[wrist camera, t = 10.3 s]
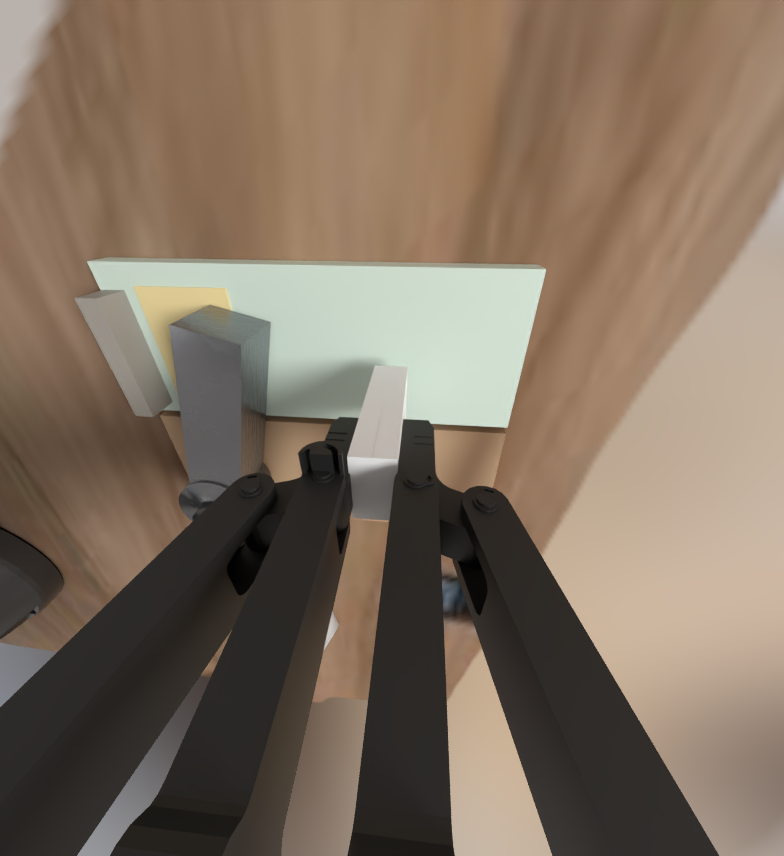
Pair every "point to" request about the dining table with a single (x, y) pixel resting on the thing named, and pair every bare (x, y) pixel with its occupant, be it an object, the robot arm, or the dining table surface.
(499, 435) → the board
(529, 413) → the dining table surface
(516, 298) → the door panel
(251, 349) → the latch bar
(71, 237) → the dining table surface
